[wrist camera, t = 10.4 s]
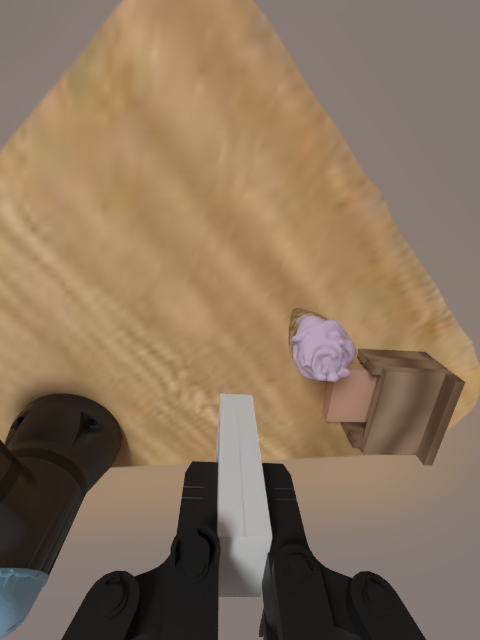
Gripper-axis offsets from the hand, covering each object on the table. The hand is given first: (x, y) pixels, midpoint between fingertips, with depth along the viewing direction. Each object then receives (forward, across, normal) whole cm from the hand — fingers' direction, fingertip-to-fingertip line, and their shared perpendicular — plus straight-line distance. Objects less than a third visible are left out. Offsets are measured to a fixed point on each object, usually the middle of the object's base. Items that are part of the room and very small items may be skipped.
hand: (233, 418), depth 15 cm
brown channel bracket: (+26, +25, -15) cm, 39 cm away
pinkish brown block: (+27, +22, -15) cm, 38 cm away
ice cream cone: (+27, +10, -3) cm, 28 cm away
